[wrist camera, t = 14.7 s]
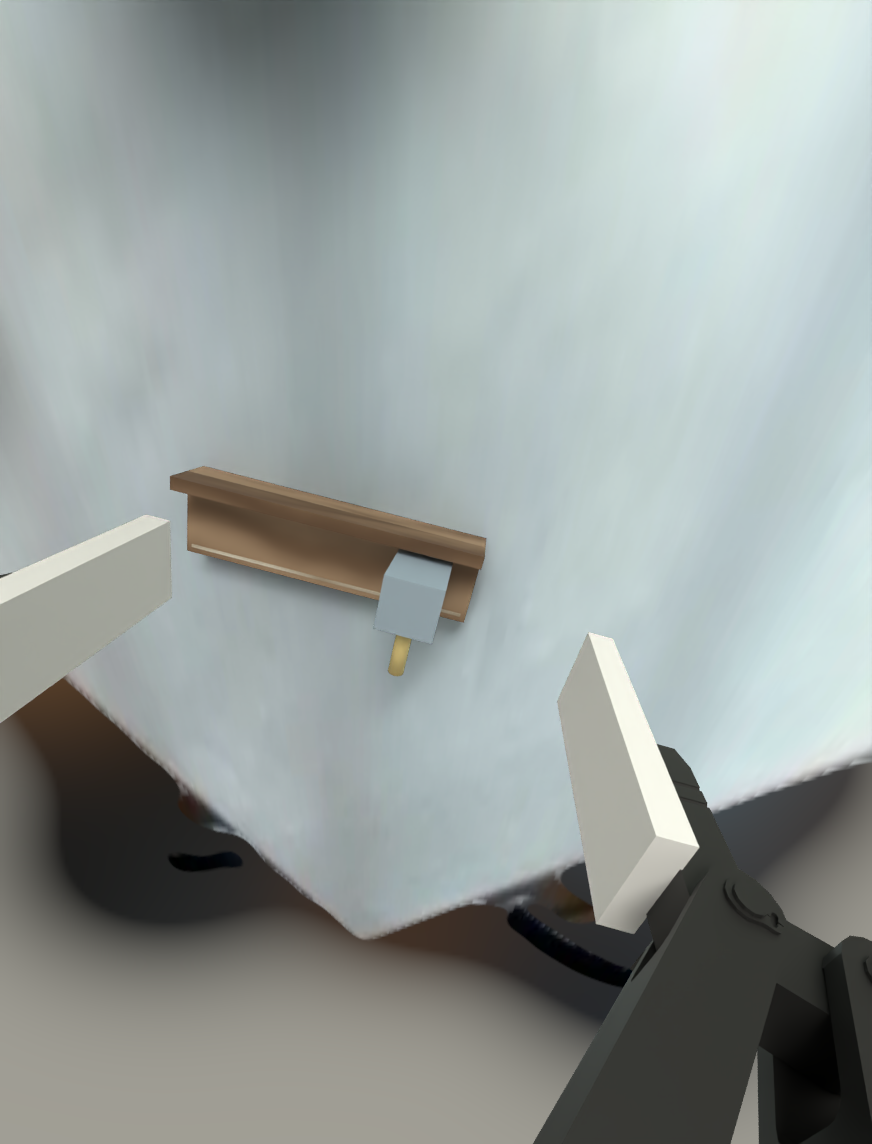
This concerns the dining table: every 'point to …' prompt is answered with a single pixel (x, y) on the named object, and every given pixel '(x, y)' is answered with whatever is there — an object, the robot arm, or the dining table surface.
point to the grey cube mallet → (411, 602)
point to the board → (317, 536)
